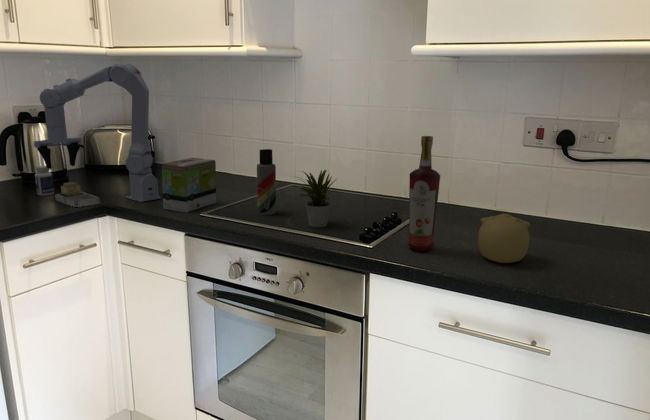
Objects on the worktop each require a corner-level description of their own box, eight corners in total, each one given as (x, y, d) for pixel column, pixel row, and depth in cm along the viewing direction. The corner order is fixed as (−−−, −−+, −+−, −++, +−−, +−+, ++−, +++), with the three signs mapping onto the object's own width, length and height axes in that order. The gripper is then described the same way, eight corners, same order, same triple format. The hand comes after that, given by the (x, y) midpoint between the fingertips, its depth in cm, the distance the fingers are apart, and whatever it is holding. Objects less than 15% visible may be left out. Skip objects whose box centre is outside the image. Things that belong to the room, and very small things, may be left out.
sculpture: (526, 253, 129) (531, 211, 127) (527, 270, 118) (533, 224, 116) (477, 248, 133) (481, 207, 130) (474, 264, 122) (478, 219, 119)
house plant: (298, 215, 161) (298, 162, 157) (343, 218, 159) (345, 164, 154) (287, 228, 147) (287, 171, 143) (336, 232, 145) (337, 173, 141)
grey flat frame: (100, 203, 172) (99, 197, 172) (75, 208, 166) (75, 201, 166) (79, 196, 182) (78, 190, 181) (55, 200, 176) (54, 194, 175)
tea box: (188, 213, 162) (185, 165, 158) (162, 209, 166) (159, 163, 162) (217, 202, 175) (216, 158, 172) (193, 199, 179) (191, 156, 176)
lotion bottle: (259, 215, 160) (257, 150, 155) (256, 211, 165) (255, 147, 160) (277, 214, 162) (276, 149, 156) (274, 210, 167) (273, 147, 162)
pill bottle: (57, 192, 186) (54, 165, 184) (48, 196, 181) (45, 168, 179) (43, 192, 187) (39, 165, 184) (33, 195, 182) (30, 167, 179)
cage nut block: (81, 199, 177) (80, 183, 175) (68, 201, 173) (66, 185, 172) (75, 197, 180) (74, 181, 178) (62, 199, 176) (60, 183, 175)
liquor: (438, 246, 134) (445, 135, 127) (431, 255, 127) (439, 139, 120) (409, 242, 137) (415, 134, 130) (402, 251, 130) (408, 137, 123)
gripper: (73, 124, 182) (77, 163, 185) (28, 126, 171) (33, 168, 175) (82, 125, 177) (86, 165, 181) (36, 128, 167) (42, 170, 170)
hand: (61, 167), depth 178 cm, fingers open, 7 cm apart
